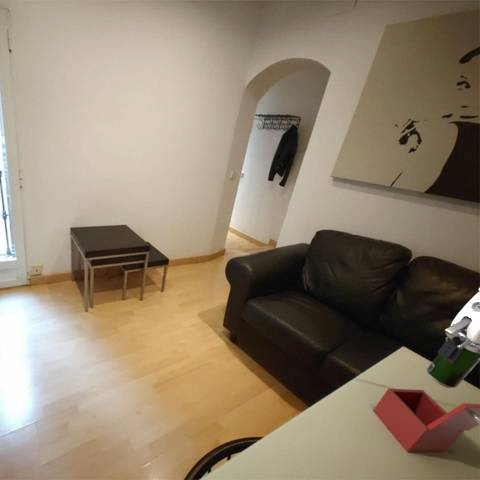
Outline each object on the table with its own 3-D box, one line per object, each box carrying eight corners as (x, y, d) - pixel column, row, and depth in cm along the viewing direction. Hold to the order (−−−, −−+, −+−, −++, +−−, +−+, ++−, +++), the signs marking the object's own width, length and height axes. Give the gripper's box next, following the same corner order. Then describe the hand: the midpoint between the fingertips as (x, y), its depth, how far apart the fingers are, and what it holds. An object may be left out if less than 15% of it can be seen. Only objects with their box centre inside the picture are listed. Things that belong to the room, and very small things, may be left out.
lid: (462, 403, 54) (489, 431, 50) (504, 404, 56) (533, 432, 52) (426, 426, 60) (447, 452, 56) (465, 426, 61) (488, 452, 57)
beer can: (429, 381, 62) (460, 342, 57) (422, 366, 66) (449, 328, 61) (460, 394, 59) (494, 354, 55) (450, 377, 64) (480, 339, 59)
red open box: (372, 410, 73) (388, 388, 69) (405, 411, 74) (422, 389, 70) (406, 452, 63) (426, 429, 60) (444, 452, 65) (465, 429, 61)
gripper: (498, 301, 48) (442, 371, 56) (570, 308, 51) (508, 374, 58) (453, 279, 55) (409, 344, 62) (519, 286, 58) (469, 348, 65)
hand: (457, 358), depth 60 cm, fingers closed on beer can, 5 cm apart
